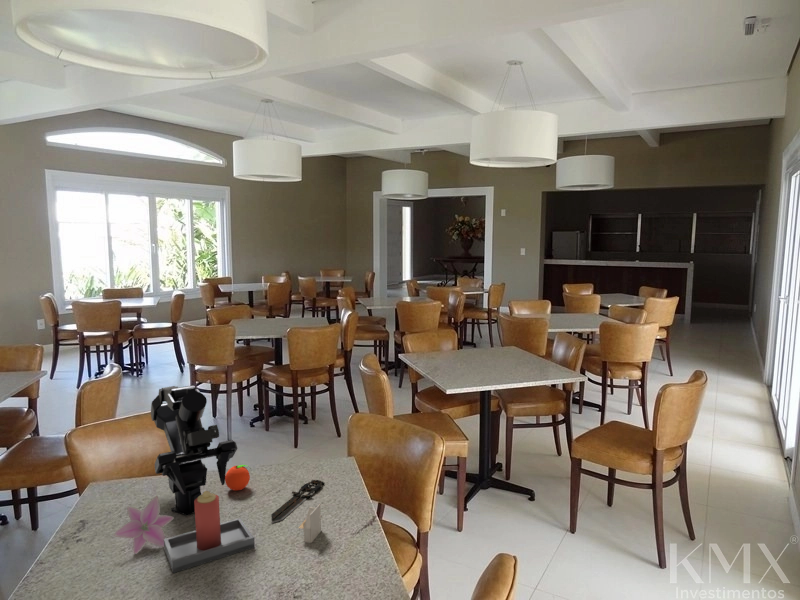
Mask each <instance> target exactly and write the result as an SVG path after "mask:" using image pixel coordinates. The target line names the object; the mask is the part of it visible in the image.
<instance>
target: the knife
mask: <svg viewBox="0 0 800 600" xmlns="http://www.w3.org/2000/svg"><path fill="white" fill-rule="evenodd" d="M324 484H326V483H325V482H324V481H322V480H319V479H312V480H311V481H309V482H306V483H304V484H303V485H302V486H301V487H300V488H299V489H298V491H297V492H296V491H292V492H291V495H292V497H290V498H289V499H288V500H287V501H286V502H285V503H283V504H282V505H281V506H280V507H278V508H277V509H276V510H275V511H274V512H272V513H271V517H270V518H271V522H270V524H274V523H277V522H280V521H281V522H282V521H283V520H284V519H285V518H286V517H288V516H289V514H291V513H292V512H294V511H295V510H296V509H297V508H299V506H300V505H301V504H302V503H304V502H305V501H306V500H309V499H312V498H313V496H314V495H313V493H315V494H317V493H318V492H320V490H321V489H322V488H321V487H322V486H325V485H324ZM309 487H310V488H309ZM311 487H312V488H311ZM304 490H305V491H307V492H308V493H307V494H302V495H301V492H302V491H304Z"/></svg>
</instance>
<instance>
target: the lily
mask: <svg viewBox="0 0 800 600" xmlns="http://www.w3.org/2000/svg"><path fill="white" fill-rule="evenodd" d="M160 510H161V509H160V499H159V496H158V495H156V496H154V497H153V498H152V499H150V501H149V502H148V503H147V504H146V505H145V506H144V507H143V509H142V510H140V509H138V508H136V507H132V506H129V505H128V506H127V507H126V511H127V514H128V518H129V521H128V522H126V523H125V524H123V525H122V526H121V527H119V528H118V529H117V530H115V531H114V532H113V534H112V536H113V537H114V538H120V539H121V538H122V539H131V540H132V539H133V541H132V544H133V545H132V548H133V549H132V551H133V554H134V555H136V554H138V553H139V552H140V551H141V550H142V549H143V548H144V546H145V545H146V543H147V542H148V543H150V544H152V545H155V546H158V547H161V548H164V539H166V538H167V537H166V535H165V532H164V530H163V528H164V527H165V526H166V525H168V524H169V523H170V522H172V521H173V520H174V518H175V517H174V516H171V515H167V514H166V515H164V514H160V512H161V511H160Z"/></svg>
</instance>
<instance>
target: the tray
mask: <svg viewBox="0 0 800 600" xmlns="http://www.w3.org/2000/svg"><path fill="white" fill-rule="evenodd" d="M220 530H221V544H220V545H219V546H218V547H215V548H211V549H208V550H205V551H204V550H199V549H198V548H197V540H196V529H195V530H192V531H191V530H190V531H187V532H184V533H181V534H177V535H173V536H170V537H165V538H166V539H164V547H163V549H164V552H165V555H166V557H167V560H168V564H169V565H170V568H171V571H172V574H175V573H177V572H181V571H184V570H187V569H191V568H193V567H197V566H200V565H203V564H206V563H209V562H213V561H216V560H219V559H222V558H225V557H229V556H232V555H235V554H238V553H242V552H244V551H247V550H251V549H254V548H255V537H254V535H253V534H252V532H251V531H250V529H249V528H248V527H247V525H246V524H245V522H244V521H243V519H242V518H241V517H238V518H233V519H230V520H228V521H224V522H220Z"/></svg>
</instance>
